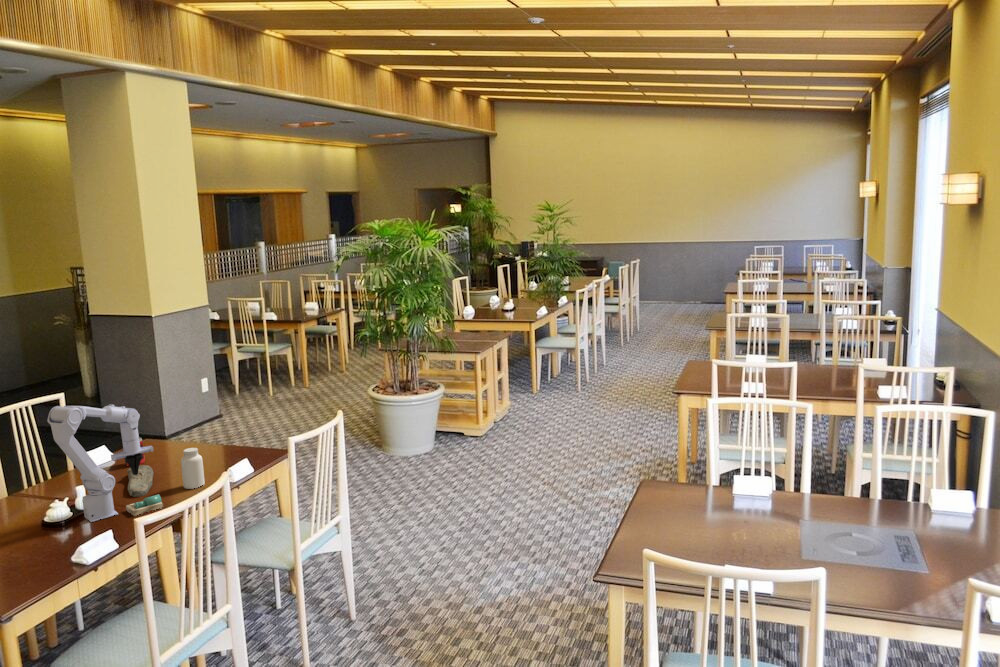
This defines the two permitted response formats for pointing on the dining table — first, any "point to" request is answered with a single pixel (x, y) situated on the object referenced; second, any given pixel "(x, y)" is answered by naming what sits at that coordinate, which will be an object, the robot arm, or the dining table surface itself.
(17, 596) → the dining table surface
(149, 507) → the cradle
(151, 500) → the bottle
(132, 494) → the grey rock slab
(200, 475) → the pill bottle
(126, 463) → the canned food
